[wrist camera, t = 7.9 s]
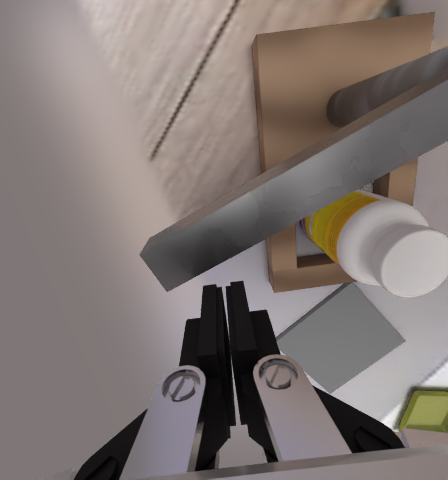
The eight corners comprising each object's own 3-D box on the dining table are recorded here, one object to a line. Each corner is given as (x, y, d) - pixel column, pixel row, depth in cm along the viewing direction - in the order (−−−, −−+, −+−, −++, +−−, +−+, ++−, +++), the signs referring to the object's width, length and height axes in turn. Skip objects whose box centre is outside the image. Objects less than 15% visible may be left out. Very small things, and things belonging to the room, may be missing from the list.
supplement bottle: (291, 237, 30) (349, 303, 18) (309, 176, 28) (389, 203, 15) (348, 247, 30) (441, 317, 18) (370, 189, 28) (491, 224, 16)
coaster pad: (349, 279, 32) (352, 282, 31) (402, 337, 35) (405, 340, 35) (272, 340, 34) (273, 344, 34) (328, 389, 37) (330, 393, 37)
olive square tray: (464, 384, 39) (478, 397, 37) (442, 427, 42) (453, 441, 40) (408, 382, 38) (419, 395, 36) (389, 426, 41) (398, 440, 39)
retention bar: (526, -2, 10) (596, -34, 9) (538, 90, 12) (602, 80, 10) (139, 224, 13) (127, 238, 11) (181, 283, 14) (177, 305, 12)
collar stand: (251, 45, 23) (318, -102, 9) (412, 25, 24) (716, -151, 9) (269, 281, 31) (320, 395, 17) (389, 264, 31) (538, 364, 17)
